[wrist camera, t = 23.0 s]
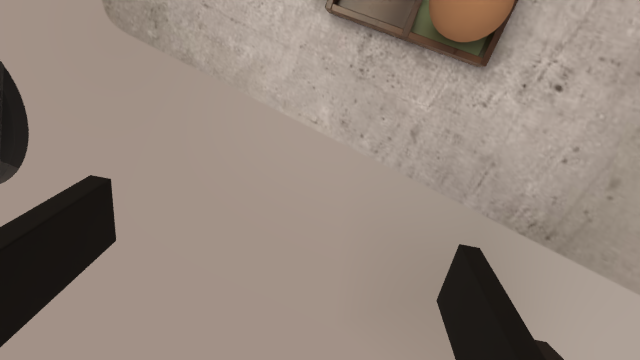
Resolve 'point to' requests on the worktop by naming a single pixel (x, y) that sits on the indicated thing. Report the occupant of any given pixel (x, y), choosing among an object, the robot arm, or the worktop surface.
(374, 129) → the worktop surface
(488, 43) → the compartment tray
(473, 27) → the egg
